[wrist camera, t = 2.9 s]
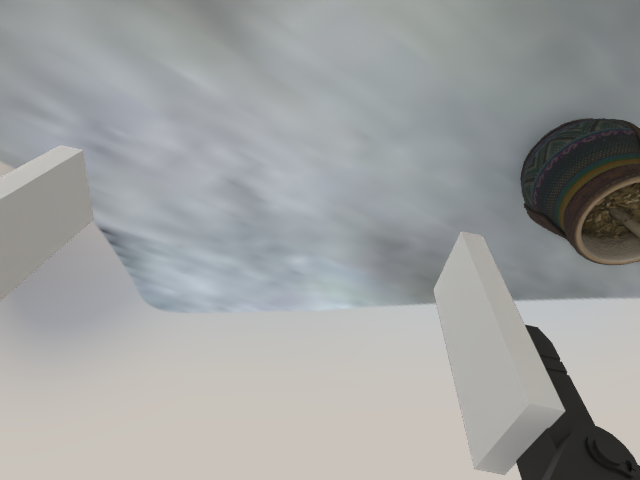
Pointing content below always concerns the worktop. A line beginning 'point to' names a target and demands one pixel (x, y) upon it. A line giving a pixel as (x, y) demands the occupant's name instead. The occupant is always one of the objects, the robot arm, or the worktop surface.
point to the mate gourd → (588, 188)
